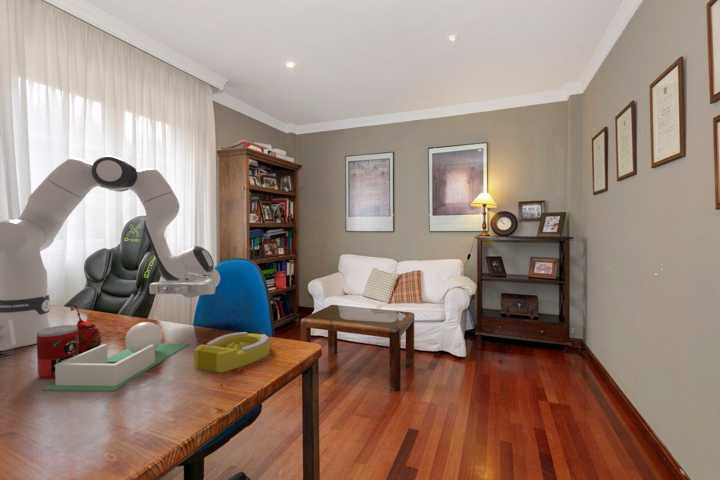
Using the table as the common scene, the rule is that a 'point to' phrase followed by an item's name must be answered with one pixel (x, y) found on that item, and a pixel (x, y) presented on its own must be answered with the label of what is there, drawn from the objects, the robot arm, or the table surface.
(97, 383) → the white chevron barrier
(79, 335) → the red clay folk toy
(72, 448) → the table surface
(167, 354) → the green mat
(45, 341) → the canned food
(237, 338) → the olive green tray
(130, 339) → the ball
